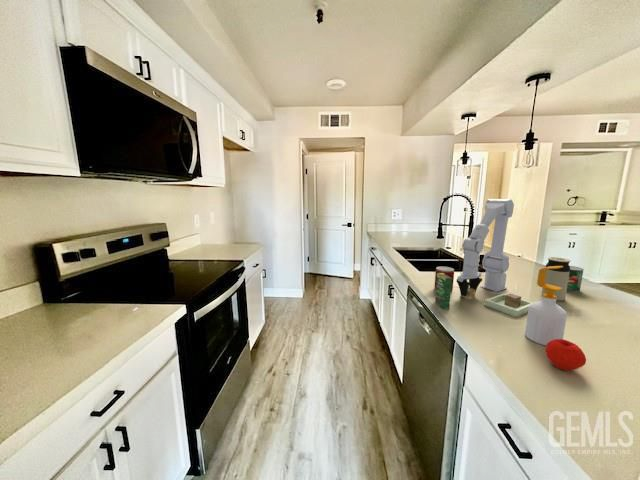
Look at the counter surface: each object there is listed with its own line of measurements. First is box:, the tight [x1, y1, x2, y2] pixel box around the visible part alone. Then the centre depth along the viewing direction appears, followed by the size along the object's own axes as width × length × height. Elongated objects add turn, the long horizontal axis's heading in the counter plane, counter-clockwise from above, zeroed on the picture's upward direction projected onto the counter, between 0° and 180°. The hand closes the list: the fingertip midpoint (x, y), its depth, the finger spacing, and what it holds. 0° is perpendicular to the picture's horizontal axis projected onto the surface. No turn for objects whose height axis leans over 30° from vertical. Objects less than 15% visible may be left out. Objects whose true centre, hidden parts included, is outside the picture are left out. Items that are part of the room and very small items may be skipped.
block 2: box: [504, 293, 522, 308], centre depth 108 cm, size 4×4×4 cm
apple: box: [544, 338, 587, 372], centre depth 70 cm, size 8×8×7 cm
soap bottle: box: [524, 266, 568, 346], centre depth 82 cm, size 9×9×25 cm
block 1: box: [460, 286, 476, 300], centre depth 118 cm, size 4×4×4 cm
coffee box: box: [434, 273, 452, 310], centre depth 109 cm, size 8×3×13 cm, turn 0°
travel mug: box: [541, 256, 572, 302], centre depth 116 cm, size 8×8×18 cm
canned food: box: [434, 265, 455, 293], centre depth 126 cm, size 8×8×11 cm
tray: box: [483, 293, 533, 318], centre depth 107 cm, size 14×12×3 cm
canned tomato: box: [566, 265, 584, 293], centre depth 127 cm, size 8×8×11 cm
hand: (467, 294), depth 118 cm, fingers open, 6 cm apart
